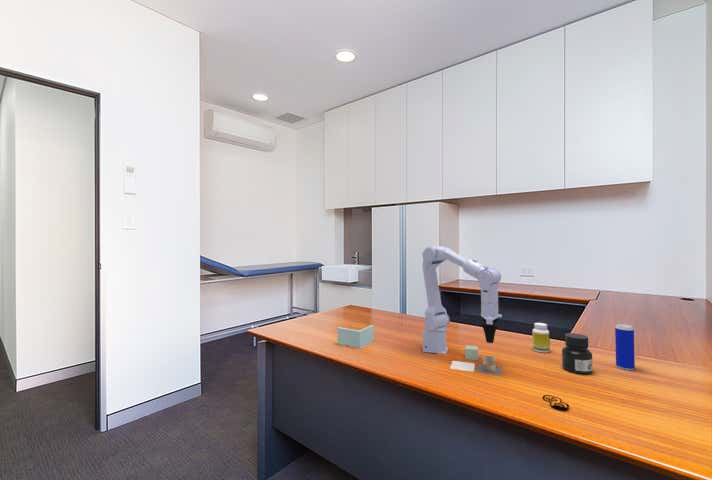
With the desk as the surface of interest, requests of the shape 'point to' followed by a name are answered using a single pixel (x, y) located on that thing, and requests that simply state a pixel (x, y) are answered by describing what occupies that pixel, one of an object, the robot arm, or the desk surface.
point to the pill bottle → (541, 338)
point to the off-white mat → (462, 366)
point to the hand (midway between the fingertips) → (490, 339)
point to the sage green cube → (471, 352)
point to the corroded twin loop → (558, 407)
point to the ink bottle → (577, 354)
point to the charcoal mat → (480, 370)
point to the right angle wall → (356, 336)
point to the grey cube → (489, 363)
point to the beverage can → (624, 346)
